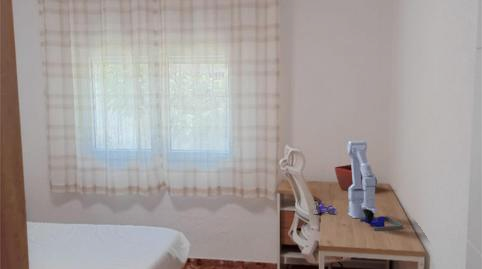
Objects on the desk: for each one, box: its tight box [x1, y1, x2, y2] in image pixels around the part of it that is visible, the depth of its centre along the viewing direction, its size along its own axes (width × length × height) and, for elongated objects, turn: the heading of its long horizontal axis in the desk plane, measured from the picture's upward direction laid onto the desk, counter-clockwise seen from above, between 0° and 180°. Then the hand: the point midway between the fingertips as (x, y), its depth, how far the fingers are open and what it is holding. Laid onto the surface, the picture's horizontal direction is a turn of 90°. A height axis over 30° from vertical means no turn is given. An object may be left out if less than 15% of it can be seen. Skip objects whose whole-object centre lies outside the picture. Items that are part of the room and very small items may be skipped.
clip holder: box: [359, 215, 404, 231], centre depth 222 cm, size 17×16×2 cm
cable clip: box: [363, 215, 386, 227], centre depth 221 cm, size 12×4×6 cm, turn 16°
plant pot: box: [334, 164, 363, 192], centre depth 302 cm, size 19×19×17 cm
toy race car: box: [313, 200, 338, 215], centre depth 247 cm, size 10×15×6 cm, turn 83°
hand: (369, 222), depth 220 cm, fingers closed
